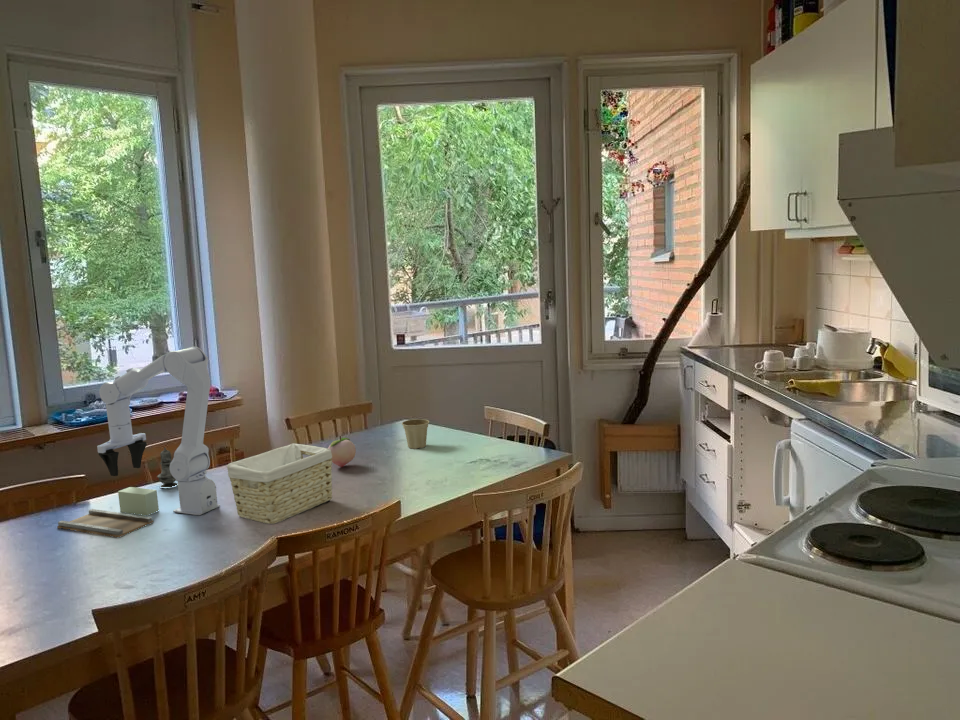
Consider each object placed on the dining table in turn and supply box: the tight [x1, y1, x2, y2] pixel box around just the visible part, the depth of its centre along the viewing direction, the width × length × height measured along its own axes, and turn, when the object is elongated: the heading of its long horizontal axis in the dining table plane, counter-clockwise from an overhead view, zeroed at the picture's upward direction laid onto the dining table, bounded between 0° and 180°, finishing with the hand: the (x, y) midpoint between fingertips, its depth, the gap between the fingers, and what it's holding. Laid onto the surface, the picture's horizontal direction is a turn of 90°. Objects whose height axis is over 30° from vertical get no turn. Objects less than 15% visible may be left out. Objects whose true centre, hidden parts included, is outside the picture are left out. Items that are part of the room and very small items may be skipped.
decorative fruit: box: [328, 435, 357, 468], centre depth 245 cm, size 9×8×10 cm
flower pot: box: [401, 418, 430, 450], centre depth 266 cm, size 9×9×9 cm
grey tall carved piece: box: [157, 447, 178, 487], centre depth 233 cm, size 6×6×12 cm
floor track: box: [57, 508, 154, 538], centre depth 202 cm, size 22×11×2 cm, turn 65°
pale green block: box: [117, 486, 160, 516], centre depth 212 cm, size 10×4×6 cm, turn 65°
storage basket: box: [226, 443, 333, 525], centre depth 208 cm, size 24×16×15 cm
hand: (125, 471), depth 217 cm, fingers open, 7 cm apart
